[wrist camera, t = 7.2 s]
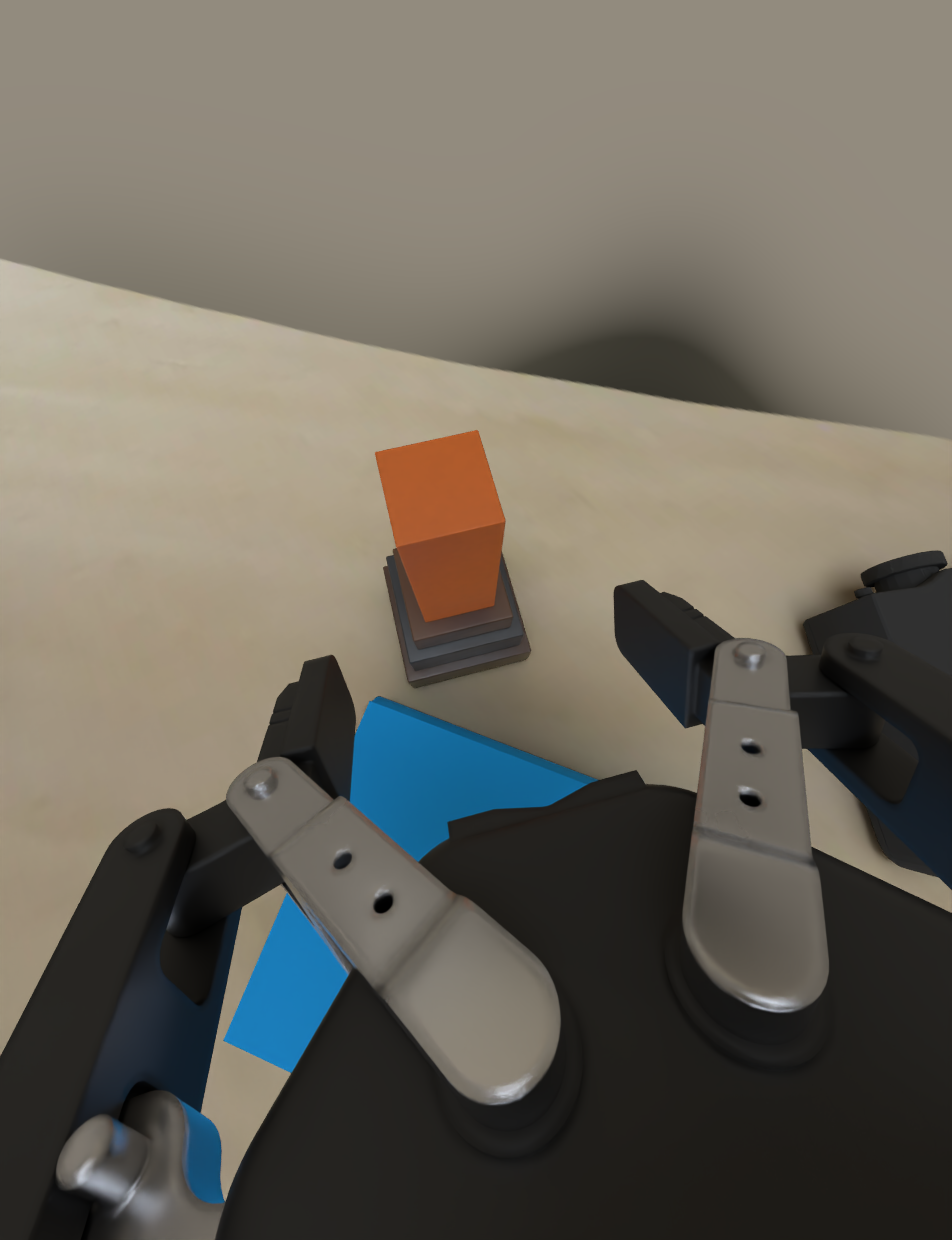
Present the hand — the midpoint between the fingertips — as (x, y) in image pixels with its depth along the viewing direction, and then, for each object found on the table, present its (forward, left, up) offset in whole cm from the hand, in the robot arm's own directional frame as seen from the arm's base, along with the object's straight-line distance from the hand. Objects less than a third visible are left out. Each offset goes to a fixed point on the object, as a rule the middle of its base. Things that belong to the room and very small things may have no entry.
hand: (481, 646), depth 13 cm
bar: (-2, +5, -10) cm, 11 cm away
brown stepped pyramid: (-2, +5, -17) cm, 18 cm away
